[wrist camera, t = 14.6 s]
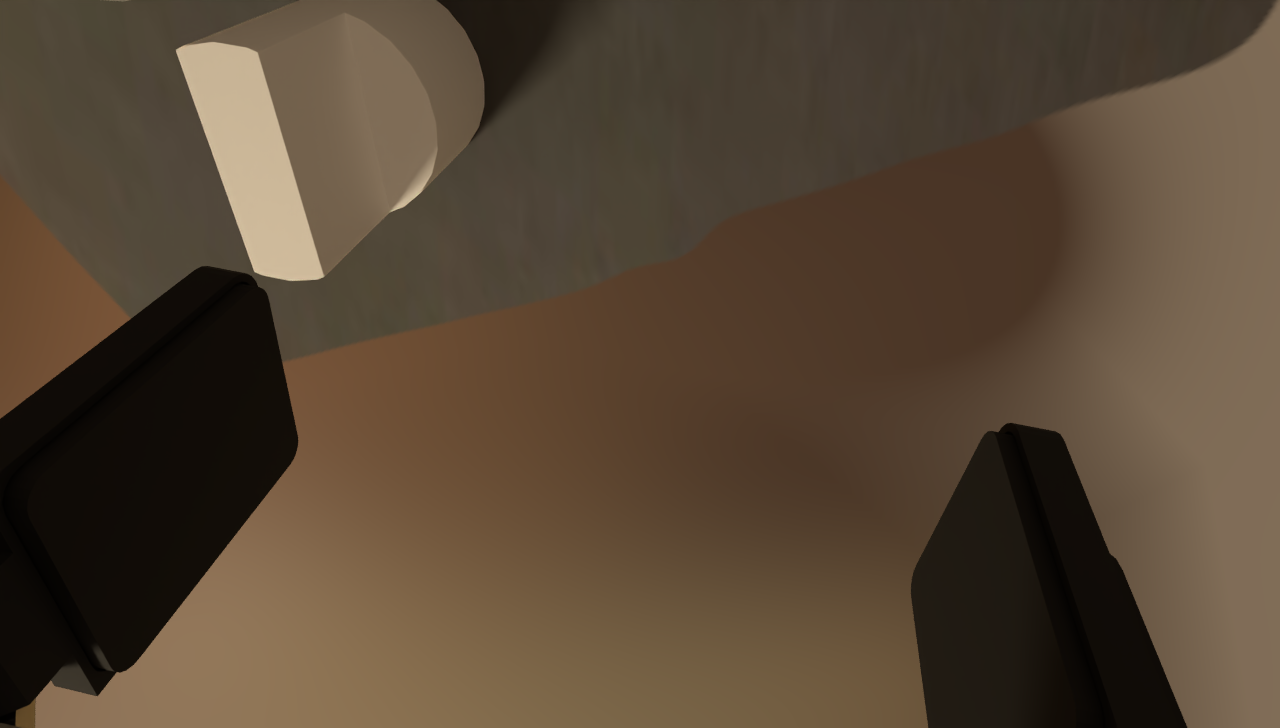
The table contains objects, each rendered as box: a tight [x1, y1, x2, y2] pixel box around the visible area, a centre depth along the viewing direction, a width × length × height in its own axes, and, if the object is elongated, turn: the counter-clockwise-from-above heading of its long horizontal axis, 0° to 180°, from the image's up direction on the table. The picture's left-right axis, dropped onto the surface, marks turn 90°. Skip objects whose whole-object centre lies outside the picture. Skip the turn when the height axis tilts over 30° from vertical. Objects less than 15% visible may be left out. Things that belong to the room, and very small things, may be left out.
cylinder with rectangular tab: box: [176, 0, 484, 281], centre depth 33 cm, size 9×9×12 cm
